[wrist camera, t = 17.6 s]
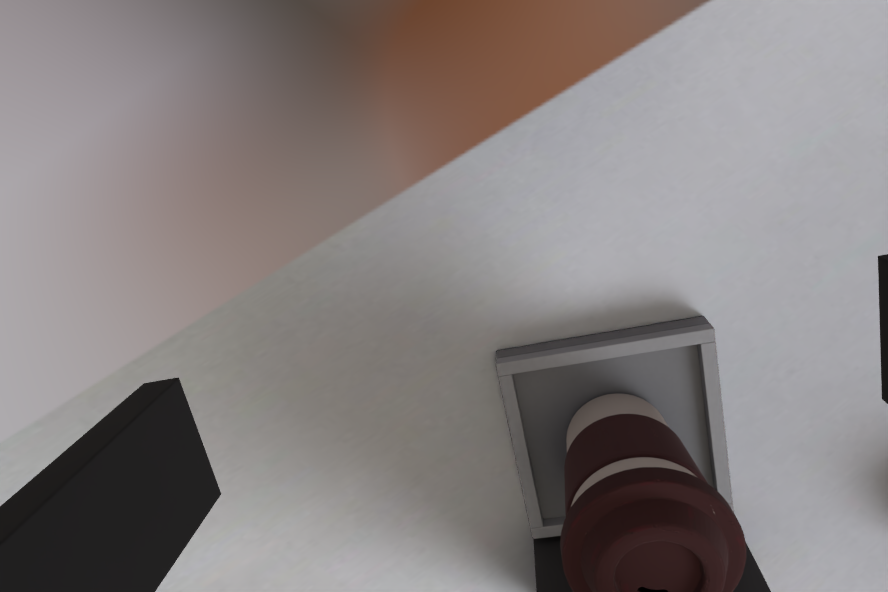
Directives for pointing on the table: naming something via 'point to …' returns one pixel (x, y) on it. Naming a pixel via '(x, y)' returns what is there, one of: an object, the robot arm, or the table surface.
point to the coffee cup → (642, 507)
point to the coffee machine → (600, 373)
